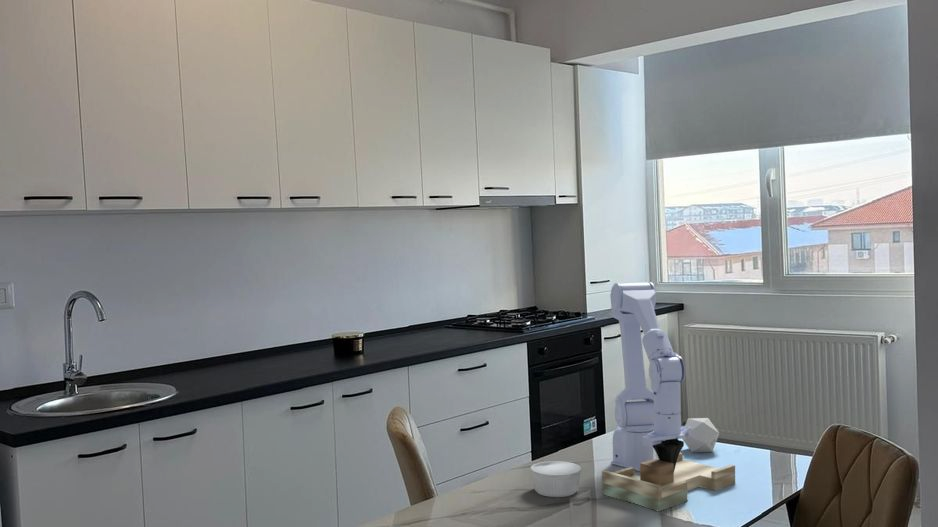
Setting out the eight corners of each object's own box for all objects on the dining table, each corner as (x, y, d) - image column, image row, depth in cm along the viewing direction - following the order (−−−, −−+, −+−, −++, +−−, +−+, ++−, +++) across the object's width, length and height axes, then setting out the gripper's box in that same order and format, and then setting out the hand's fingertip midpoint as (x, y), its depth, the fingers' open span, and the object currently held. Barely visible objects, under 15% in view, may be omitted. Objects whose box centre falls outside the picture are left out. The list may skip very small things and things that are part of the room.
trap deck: (602, 494, 177) (602, 471, 177) (679, 469, 194) (678, 448, 194) (658, 511, 165) (658, 487, 165) (735, 483, 182) (735, 461, 182)
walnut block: (640, 481, 177) (640, 463, 177) (654, 476, 180) (654, 458, 180) (659, 486, 173) (659, 468, 173) (673, 481, 176) (673, 463, 176)
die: (712, 459, 204) (729, 424, 206) (679, 441, 205) (696, 406, 208) (702, 462, 212) (719, 428, 214) (671, 445, 213) (688, 411, 216)
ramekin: (552, 480, 188) (552, 457, 188) (592, 490, 180) (591, 466, 180) (520, 491, 180) (519, 468, 180) (559, 503, 172) (559, 478, 172)
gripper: (661, 420, 171) (662, 484, 171) (702, 409, 180) (703, 470, 180) (634, 414, 176) (635, 477, 177) (676, 404, 185) (676, 464, 186)
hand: (668, 473), depth 179 cm, fingers closed
